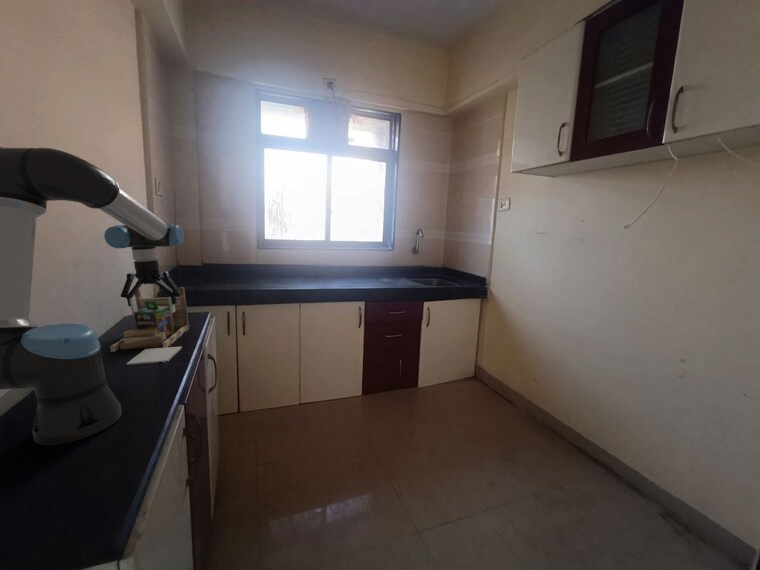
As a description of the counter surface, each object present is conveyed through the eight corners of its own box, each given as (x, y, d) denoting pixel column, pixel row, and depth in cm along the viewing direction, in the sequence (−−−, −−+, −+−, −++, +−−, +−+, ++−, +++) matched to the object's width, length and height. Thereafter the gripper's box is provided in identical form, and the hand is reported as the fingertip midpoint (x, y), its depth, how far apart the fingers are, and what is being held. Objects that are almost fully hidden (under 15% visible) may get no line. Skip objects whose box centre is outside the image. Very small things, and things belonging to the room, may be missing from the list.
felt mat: (167, 362, 109) (167, 360, 109) (126, 365, 107) (126, 363, 107) (181, 348, 121) (181, 346, 121) (145, 350, 119) (145, 348, 119)
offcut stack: (162, 346, 122) (160, 331, 121) (120, 349, 120) (117, 333, 119) (168, 342, 127) (166, 327, 126) (127, 344, 124) (124, 329, 123)
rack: (166, 348, 121) (159, 300, 117) (110, 351, 118) (101, 302, 114) (189, 328, 142) (184, 287, 138) (142, 331, 139) (135, 289, 135)
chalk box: (176, 332, 137) (171, 298, 134) (159, 341, 128) (154, 304, 125) (155, 332, 138) (150, 297, 135) (137, 340, 129) (131, 303, 126)
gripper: (185, 257, 132) (192, 308, 137) (114, 259, 128) (124, 312, 133) (177, 260, 125) (184, 314, 130) (102, 262, 121) (113, 318, 126)
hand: (154, 313), depth 131 cm, fingers open, 13 cm apart
